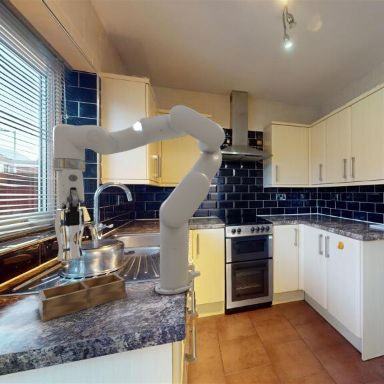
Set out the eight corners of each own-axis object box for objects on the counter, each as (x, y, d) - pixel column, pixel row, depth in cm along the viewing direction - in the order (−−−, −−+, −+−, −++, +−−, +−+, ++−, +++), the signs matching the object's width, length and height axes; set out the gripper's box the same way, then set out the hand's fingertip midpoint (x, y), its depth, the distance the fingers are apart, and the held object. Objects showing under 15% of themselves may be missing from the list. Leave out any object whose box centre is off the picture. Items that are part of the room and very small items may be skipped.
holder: (115, 288, 80) (115, 273, 81) (125, 296, 74) (125, 279, 74) (38, 309, 66) (38, 290, 66) (42, 321, 59) (42, 300, 59)
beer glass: (68, 261, 65) (67, 209, 66) (48, 261, 67) (48, 209, 67) (90, 255, 72) (89, 207, 72) (71, 254, 74) (71, 208, 74)
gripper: (92, 164, 67) (92, 225, 67) (78, 170, 79) (78, 221, 78) (58, 162, 61) (58, 228, 61) (49, 168, 73) (49, 224, 73)
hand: (70, 224), depth 70 cm, fingers closed on beer glass, 7 cm apart
